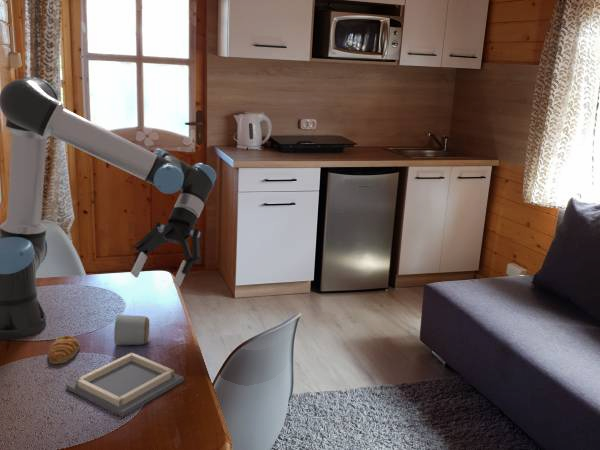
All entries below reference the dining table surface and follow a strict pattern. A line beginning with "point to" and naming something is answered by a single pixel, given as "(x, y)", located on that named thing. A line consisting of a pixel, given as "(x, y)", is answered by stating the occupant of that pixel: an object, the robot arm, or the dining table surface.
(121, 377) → the tray
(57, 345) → the pastry
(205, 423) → the dining table surface
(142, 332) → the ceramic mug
